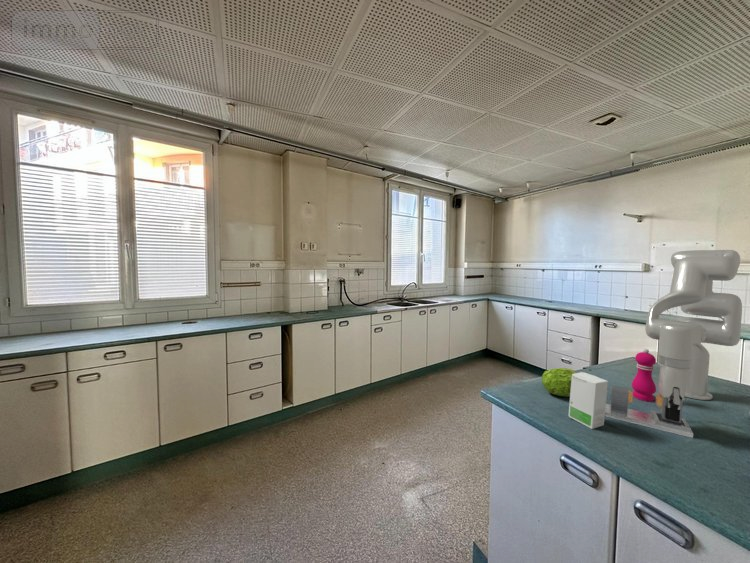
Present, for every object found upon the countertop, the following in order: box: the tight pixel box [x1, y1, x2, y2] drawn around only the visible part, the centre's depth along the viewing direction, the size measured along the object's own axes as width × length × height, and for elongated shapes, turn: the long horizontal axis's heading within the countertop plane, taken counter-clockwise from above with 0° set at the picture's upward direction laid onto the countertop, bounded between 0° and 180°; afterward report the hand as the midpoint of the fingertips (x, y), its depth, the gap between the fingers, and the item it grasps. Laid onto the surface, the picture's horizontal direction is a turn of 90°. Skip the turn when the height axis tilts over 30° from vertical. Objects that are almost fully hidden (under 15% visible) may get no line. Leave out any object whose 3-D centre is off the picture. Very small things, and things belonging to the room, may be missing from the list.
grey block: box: [655, 393, 684, 425], centre depth 96 cm, size 6×4×8 cm
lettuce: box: [541, 367, 578, 397], centre depth 123 cm, size 12×24×13 cm
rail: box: [605, 384, 694, 439], centre depth 99 cm, size 8×22×10 cm, turn 54°
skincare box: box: [568, 371, 609, 430], centre depth 99 cm, size 8×7×16 cm
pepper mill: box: [631, 348, 657, 402], centre depth 116 cm, size 7×7×20 cm
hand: (670, 416), depth 95 cm, fingers closed on grey block, 4 cm apart
